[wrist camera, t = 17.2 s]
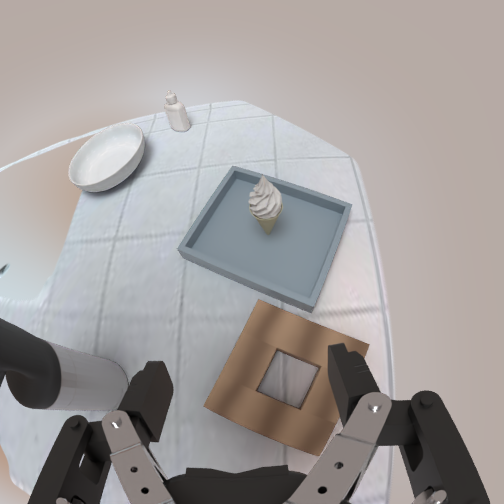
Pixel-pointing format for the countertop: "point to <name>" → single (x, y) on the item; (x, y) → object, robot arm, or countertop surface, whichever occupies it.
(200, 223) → the slate blue tray
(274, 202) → the ice cream cone
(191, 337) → the countertop surface
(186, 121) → the eye dropper bottle
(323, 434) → the walnut board
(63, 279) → the countertop surface
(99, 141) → the serving bowl
